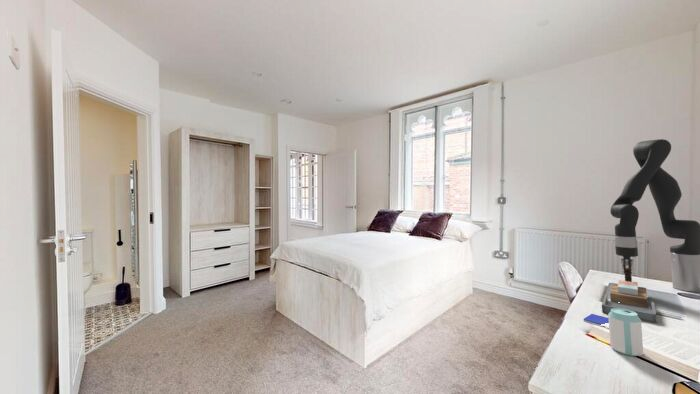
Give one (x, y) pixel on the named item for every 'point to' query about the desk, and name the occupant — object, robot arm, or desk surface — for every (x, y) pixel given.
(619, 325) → the can
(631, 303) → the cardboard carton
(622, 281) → the tile
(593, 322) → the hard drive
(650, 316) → the box
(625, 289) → the tile
